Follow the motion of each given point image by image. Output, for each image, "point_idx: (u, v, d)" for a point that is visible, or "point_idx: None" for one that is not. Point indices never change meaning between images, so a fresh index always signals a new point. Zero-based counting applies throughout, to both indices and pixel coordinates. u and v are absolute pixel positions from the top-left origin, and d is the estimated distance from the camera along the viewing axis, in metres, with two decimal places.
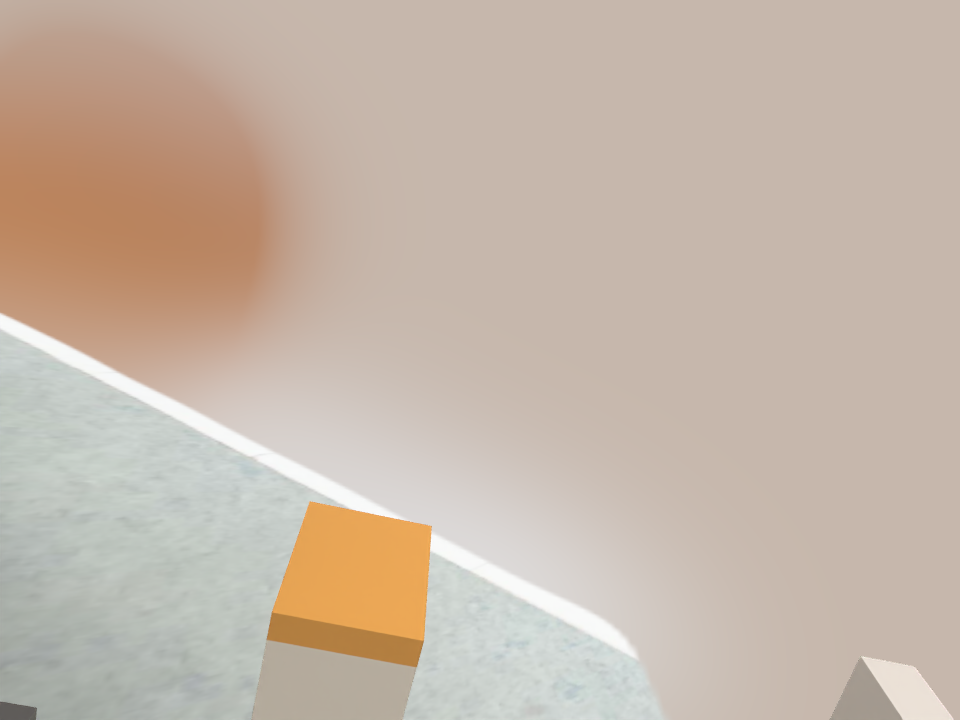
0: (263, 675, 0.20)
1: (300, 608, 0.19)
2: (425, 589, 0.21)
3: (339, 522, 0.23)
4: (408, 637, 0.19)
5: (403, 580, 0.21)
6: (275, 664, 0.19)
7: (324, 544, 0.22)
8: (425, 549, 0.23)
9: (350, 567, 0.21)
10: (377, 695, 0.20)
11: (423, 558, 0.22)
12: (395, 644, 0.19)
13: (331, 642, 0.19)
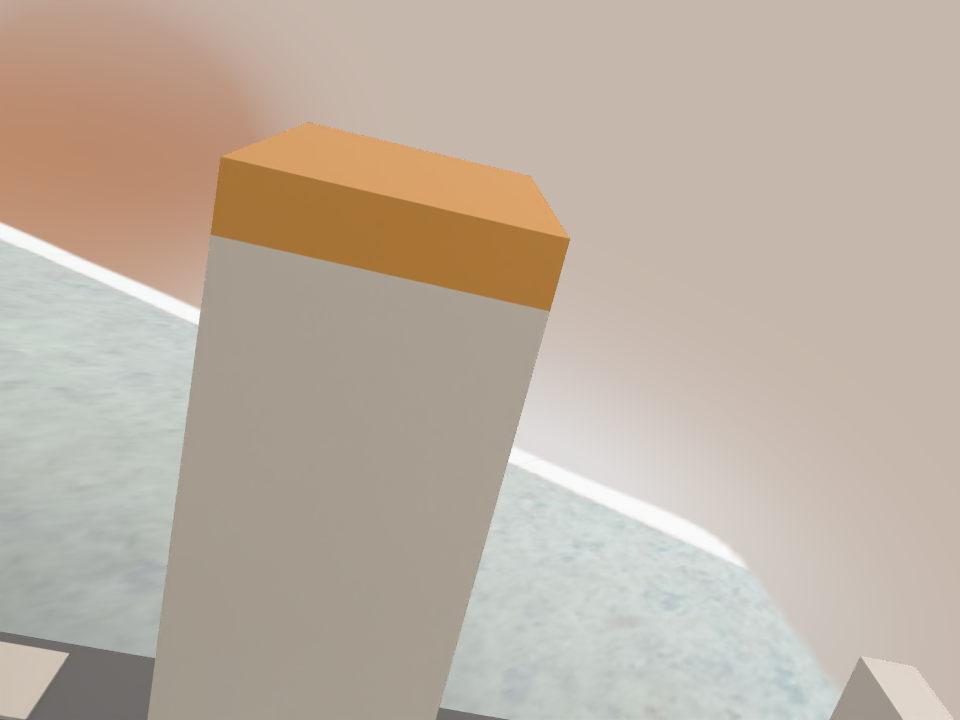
0: (206, 332, 0.09)
1: (288, 167, 0.08)
2: (545, 206, 0.10)
3: (364, 141, 0.12)
4: (533, 234, 0.09)
5: (500, 193, 0.10)
6: (231, 304, 0.09)
7: (337, 145, 0.11)
8: (529, 185, 0.12)
9: (392, 166, 0.10)
10: (459, 384, 0.09)
11: (529, 189, 0.12)
12: (504, 249, 0.08)
13: (359, 243, 0.08)
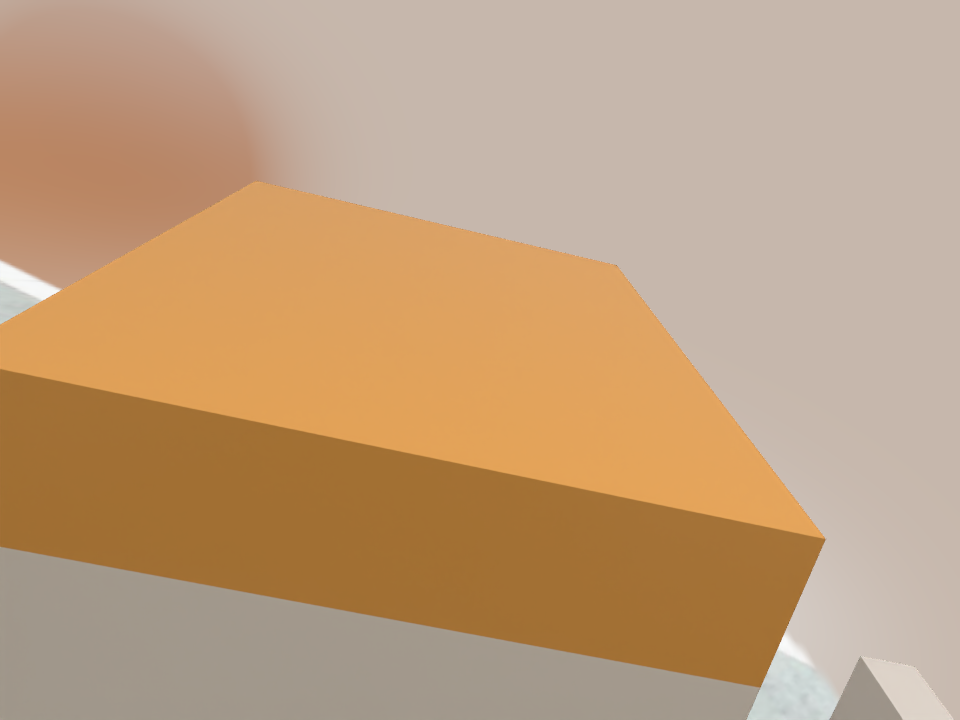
0: None
1: (136, 362, 0.03)
2: (691, 372, 0.05)
3: (346, 218, 0.07)
4: (733, 523, 0.04)
5: (599, 343, 0.05)
6: (7, 680, 0.04)
7: (293, 239, 0.06)
8: (628, 296, 0.07)
9: (392, 291, 0.05)
10: None
11: (634, 309, 0.07)
12: (665, 561, 0.03)
13: (310, 550, 0.03)
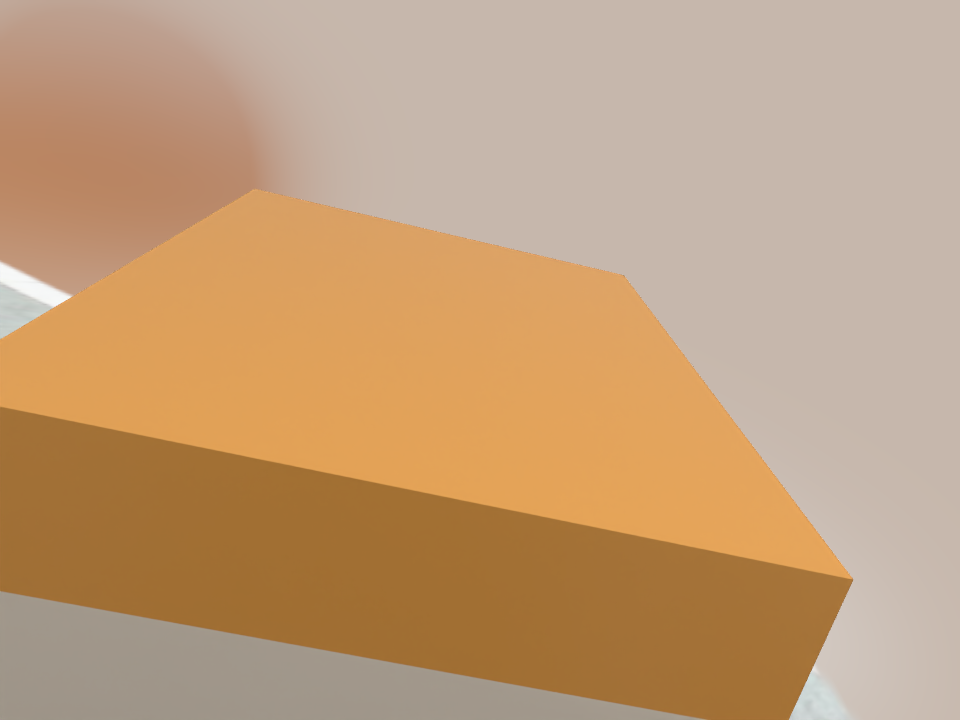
0: None
1: (124, 392, 0.03)
2: (704, 392, 0.05)
3: (346, 228, 0.07)
4: (755, 561, 0.03)
5: (609, 360, 0.05)
6: None
7: (292, 252, 0.06)
8: (636, 308, 0.07)
9: (394, 307, 0.05)
10: None
11: (643, 323, 0.06)
12: (684, 602, 0.03)
13: (310, 592, 0.03)
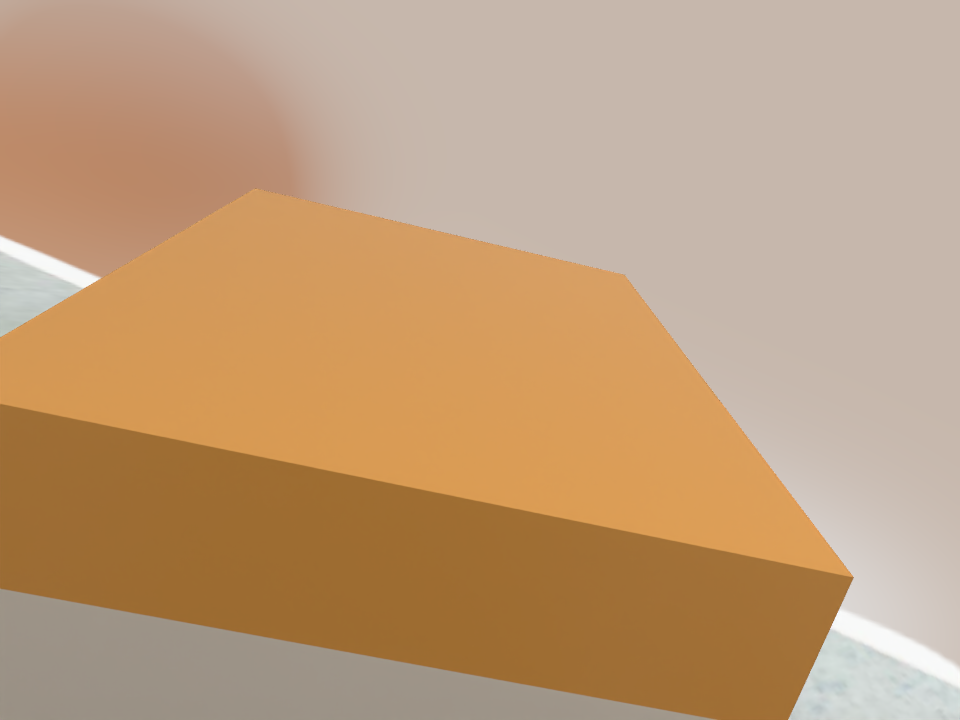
0: None
1: (124, 387, 0.03)
2: (704, 390, 0.05)
3: (347, 227, 0.07)
4: (755, 559, 0.03)
5: (609, 359, 0.05)
6: None
7: (292, 251, 0.06)
8: (636, 307, 0.07)
9: (394, 306, 0.05)
10: None
11: (644, 322, 0.06)
12: (683, 600, 0.03)
13: (308, 589, 0.03)
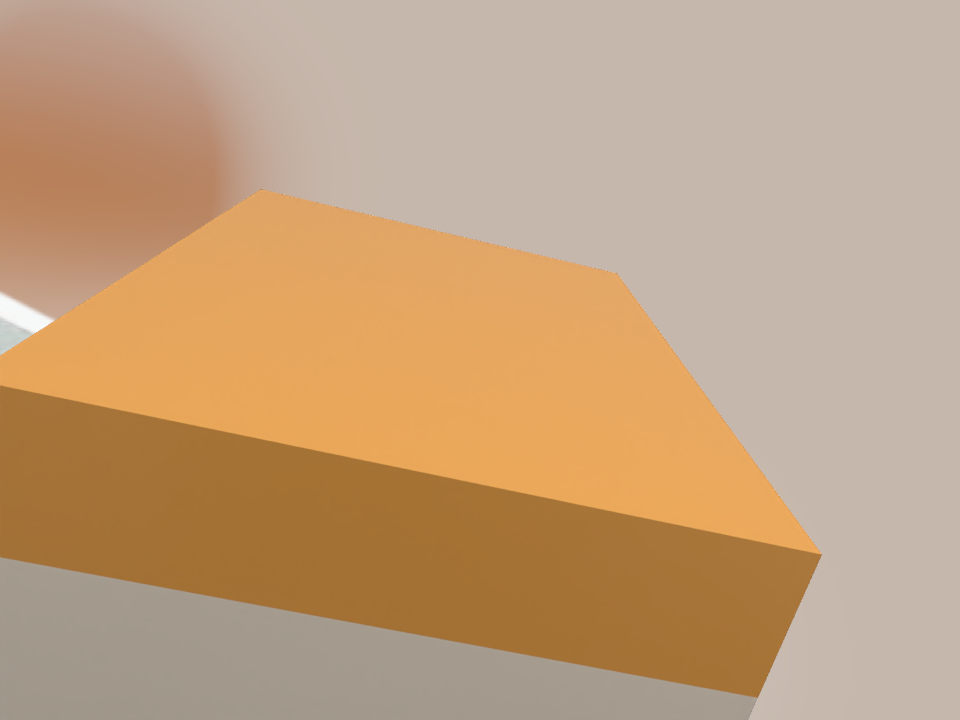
0: None
1: (152, 378, 0.04)
2: (692, 384, 0.05)
3: (350, 228, 0.07)
4: (732, 538, 0.04)
5: (601, 355, 0.06)
6: (27, 687, 0.04)
7: (299, 251, 0.06)
8: (628, 305, 0.07)
9: (397, 304, 0.05)
10: None
11: (635, 319, 0.07)
12: (666, 575, 0.04)
13: (322, 564, 0.04)
